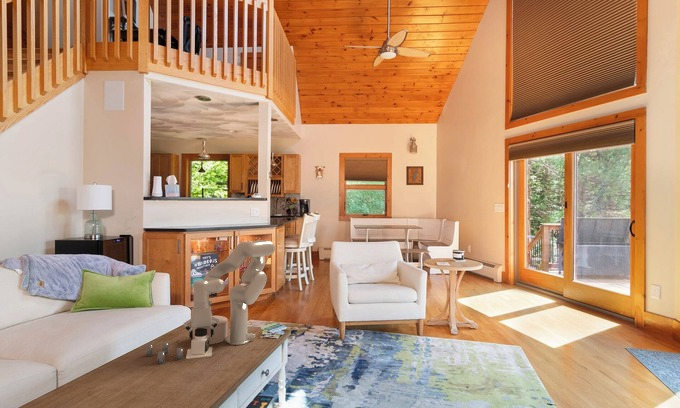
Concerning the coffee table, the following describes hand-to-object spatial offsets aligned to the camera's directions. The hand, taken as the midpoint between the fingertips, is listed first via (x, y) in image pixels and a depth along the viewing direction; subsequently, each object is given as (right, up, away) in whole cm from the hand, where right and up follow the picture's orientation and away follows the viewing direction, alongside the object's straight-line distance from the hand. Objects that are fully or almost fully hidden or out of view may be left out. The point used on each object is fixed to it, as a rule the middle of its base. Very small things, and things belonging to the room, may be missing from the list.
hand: (201, 337), depth 188 cm
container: (-2, -9, +20) cm, 22 cm away
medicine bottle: (-1, -7, -1) cm, 7 cm away
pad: (-1, -8, -1) cm, 8 cm away
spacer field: (-17, -7, -7) cm, 20 cm away
